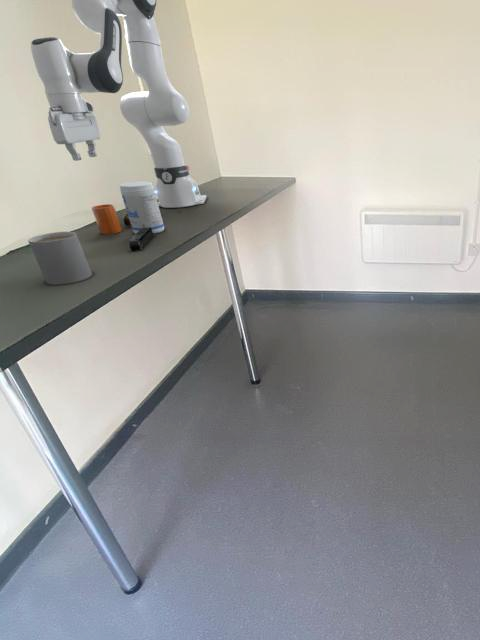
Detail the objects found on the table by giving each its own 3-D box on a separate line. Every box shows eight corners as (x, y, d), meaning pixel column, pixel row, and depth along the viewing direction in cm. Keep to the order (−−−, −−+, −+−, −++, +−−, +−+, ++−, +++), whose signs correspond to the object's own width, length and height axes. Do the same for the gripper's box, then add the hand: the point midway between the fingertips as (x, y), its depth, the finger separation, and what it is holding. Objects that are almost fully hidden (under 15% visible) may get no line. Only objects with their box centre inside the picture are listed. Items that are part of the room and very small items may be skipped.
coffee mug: (84, 282, 116) (68, 240, 111) (39, 286, 115) (20, 244, 109) (101, 266, 127) (86, 226, 122) (60, 269, 126) (43, 230, 120)
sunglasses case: (151, 224, 165) (135, 207, 161) (136, 236, 166) (119, 220, 162) (160, 213, 180) (145, 198, 176) (146, 225, 181) (131, 209, 177)
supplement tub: (127, 234, 156) (111, 185, 148) (149, 227, 163) (135, 180, 155) (150, 236, 153) (134, 186, 145) (172, 229, 160) (158, 181, 152)
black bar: (140, 251, 139) (137, 240, 137) (131, 251, 138) (127, 241, 136) (154, 235, 153) (151, 226, 152) (145, 236, 153) (142, 226, 151)
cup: (106, 229, 163) (97, 204, 159) (125, 228, 163) (117, 203, 159) (97, 234, 158) (87, 208, 153) (116, 233, 158) (107, 207, 153)
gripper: (58, 106, 132) (78, 162, 140) (95, 105, 149) (111, 154, 157) (35, 107, 132) (56, 163, 139) (75, 105, 149) (91, 155, 157)
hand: (85, 158), depth 148 cm, fingers open, 8 cm apart
